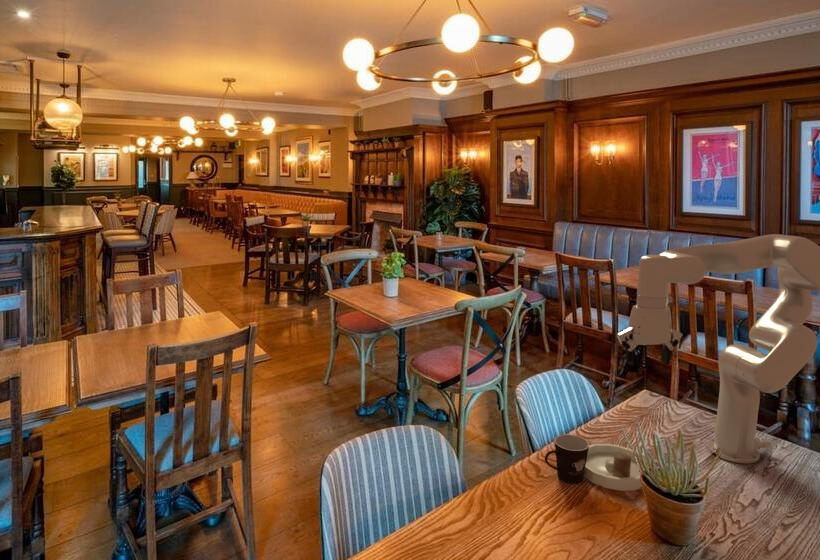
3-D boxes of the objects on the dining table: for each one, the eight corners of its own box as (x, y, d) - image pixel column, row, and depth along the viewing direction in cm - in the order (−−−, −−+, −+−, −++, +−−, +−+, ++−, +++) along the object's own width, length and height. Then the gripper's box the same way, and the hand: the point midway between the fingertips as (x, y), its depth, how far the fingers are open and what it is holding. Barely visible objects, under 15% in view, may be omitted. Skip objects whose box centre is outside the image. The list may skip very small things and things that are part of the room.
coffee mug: (582, 468, 138) (584, 434, 136) (590, 487, 129) (592, 451, 127) (539, 467, 139) (540, 433, 137) (544, 485, 130) (545, 449, 129)
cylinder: (625, 474, 133) (626, 453, 132) (632, 482, 130) (633, 461, 128) (610, 474, 133) (611, 453, 132) (617, 483, 129) (618, 461, 128)
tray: (630, 452, 146) (630, 442, 145) (663, 489, 128) (664, 478, 127) (568, 454, 145) (568, 444, 144) (593, 491, 127) (593, 481, 127)
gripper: (676, 298, 137) (671, 358, 141) (613, 299, 137) (610, 359, 140) (692, 304, 130) (686, 367, 133) (626, 306, 129) (622, 369, 133)
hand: (647, 363), depth 137 cm, fingers open, 9 cm apart
